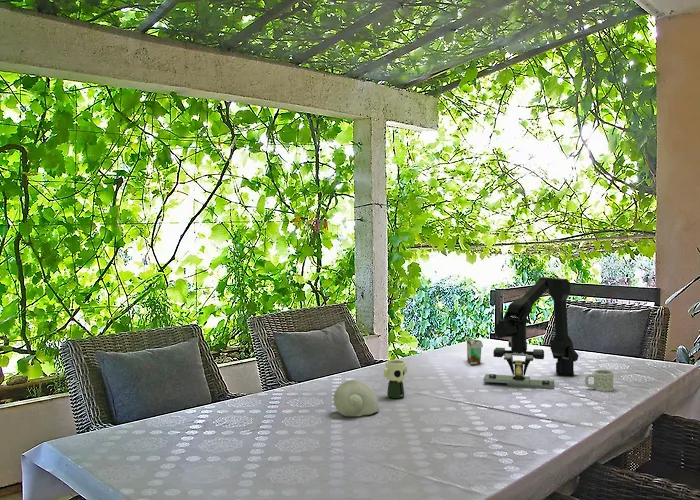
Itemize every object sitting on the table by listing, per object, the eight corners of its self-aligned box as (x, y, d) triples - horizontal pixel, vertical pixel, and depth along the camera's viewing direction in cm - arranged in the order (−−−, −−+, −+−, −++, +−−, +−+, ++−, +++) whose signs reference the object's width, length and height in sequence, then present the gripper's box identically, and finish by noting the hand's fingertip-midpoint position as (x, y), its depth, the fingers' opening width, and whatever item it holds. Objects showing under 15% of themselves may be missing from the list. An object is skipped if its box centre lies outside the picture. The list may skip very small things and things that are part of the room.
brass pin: (525, 378, 256) (525, 360, 256) (524, 381, 252) (524, 363, 252) (513, 377, 258) (513, 360, 257) (512, 380, 253) (512, 362, 253)
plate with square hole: (554, 384, 254) (554, 375, 254) (553, 389, 247) (553, 380, 247) (486, 379, 263) (486, 372, 263) (483, 384, 255) (483, 376, 255)
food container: (485, 366, 287) (485, 343, 287) (471, 366, 288) (471, 343, 287) (480, 360, 300) (480, 338, 299) (466, 360, 300) (466, 338, 300)
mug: (610, 387, 248) (610, 370, 248) (615, 392, 242) (615, 374, 242) (582, 387, 249) (582, 369, 249) (587, 391, 243) (587, 373, 243)
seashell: (335, 434, 219) (334, 406, 210) (333, 400, 230) (332, 372, 221) (380, 432, 220) (381, 403, 211) (376, 398, 231) (377, 370, 221)
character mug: (390, 402, 232) (390, 365, 232) (378, 397, 238) (377, 362, 237) (413, 396, 239) (413, 361, 238) (400, 392, 245) (400, 358, 244)
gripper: (544, 332, 259) (544, 372, 259) (496, 331, 265) (496, 369, 265) (543, 337, 248) (543, 378, 249) (493, 335, 254) (493, 375, 255)
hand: (518, 375), depth 255 cm, fingers open, 4 cm apart
